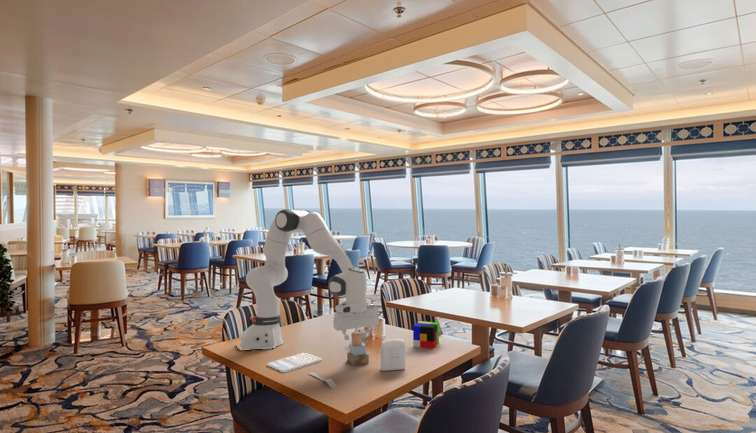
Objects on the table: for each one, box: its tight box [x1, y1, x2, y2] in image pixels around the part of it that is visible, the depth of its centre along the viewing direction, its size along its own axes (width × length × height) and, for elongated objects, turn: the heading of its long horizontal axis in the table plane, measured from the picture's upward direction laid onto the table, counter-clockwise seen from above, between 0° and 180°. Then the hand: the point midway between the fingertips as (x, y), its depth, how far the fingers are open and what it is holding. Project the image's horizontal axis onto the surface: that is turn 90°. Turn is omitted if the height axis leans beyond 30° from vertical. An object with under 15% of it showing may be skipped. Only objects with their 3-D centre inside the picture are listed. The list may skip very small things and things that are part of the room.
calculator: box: [266, 352, 323, 373], centre depth 187 cm, size 13×20×2 cm, turn 135°
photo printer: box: [380, 338, 406, 372], centre depth 179 cm, size 10×4×12 cm, turn 103°
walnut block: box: [346, 351, 370, 367], centre depth 188 cm, size 7×7×4 cm
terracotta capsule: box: [350, 331, 362, 346], centre depth 187 cm, size 5×5×5 cm
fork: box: [307, 371, 338, 390], centre depth 167 cm, size 3×21×3 cm, turn 35°
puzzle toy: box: [412, 320, 440, 349], centre depth 212 cm, size 10×10×10 cm
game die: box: [354, 327, 369, 344], centre depth 214 cm, size 9×8×10 cm
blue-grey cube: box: [349, 342, 367, 356], centre depth 188 cm, size 6×6×4 cm
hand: (356, 338), depth 187 cm, fingers open, 8 cm apart
